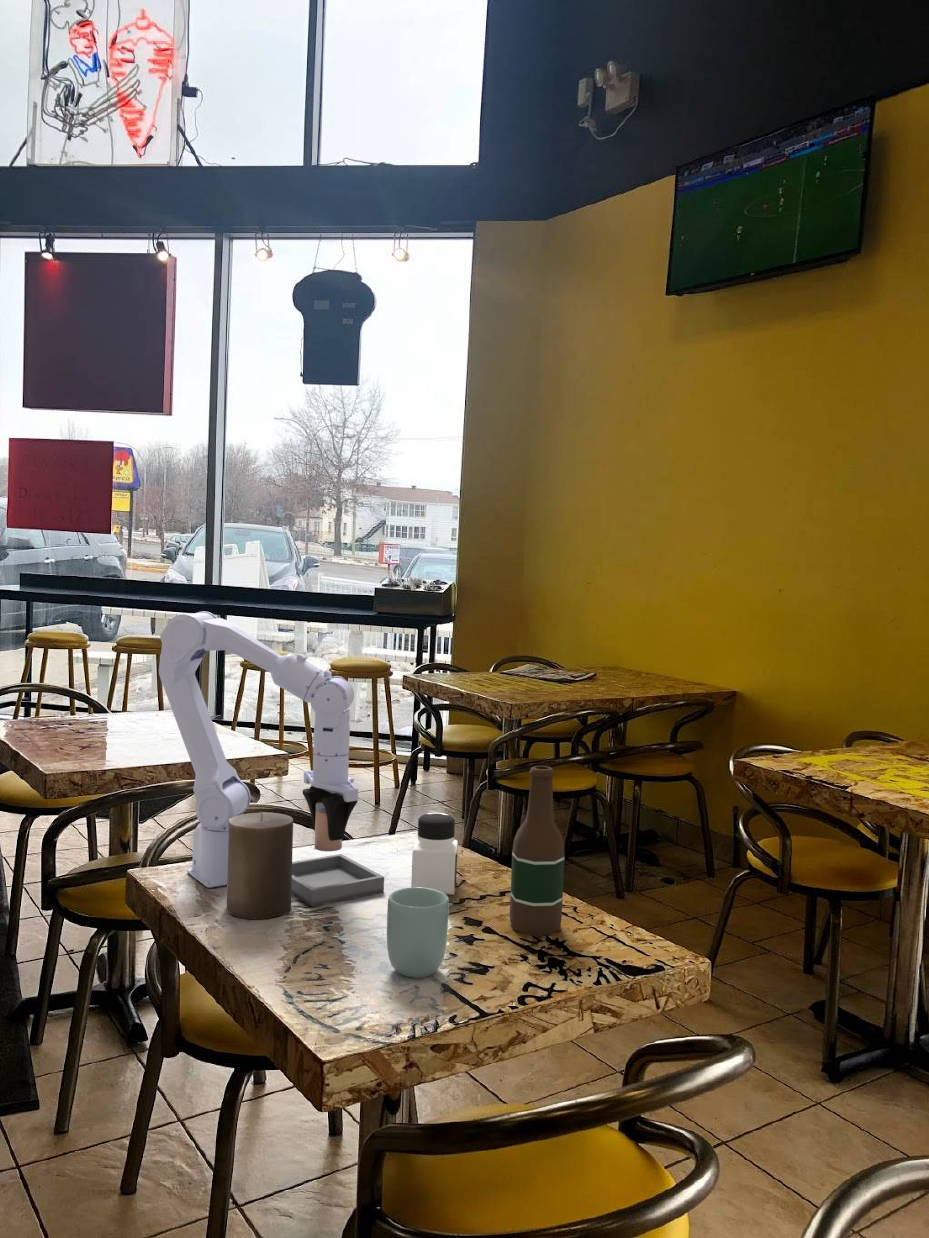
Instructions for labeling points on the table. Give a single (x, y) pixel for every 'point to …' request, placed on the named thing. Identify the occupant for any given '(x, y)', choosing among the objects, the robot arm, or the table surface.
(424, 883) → the medicine bottle
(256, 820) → the pillar candle
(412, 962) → the cup
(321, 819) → the salt shaker
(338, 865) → the tray
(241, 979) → the table surface
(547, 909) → the beer bottle
